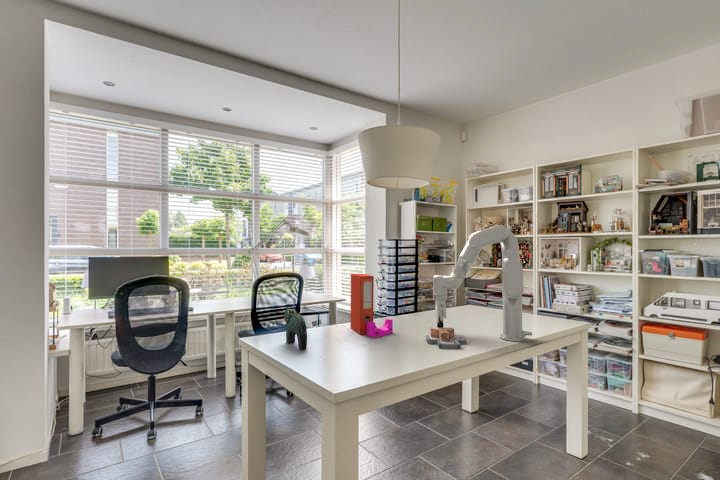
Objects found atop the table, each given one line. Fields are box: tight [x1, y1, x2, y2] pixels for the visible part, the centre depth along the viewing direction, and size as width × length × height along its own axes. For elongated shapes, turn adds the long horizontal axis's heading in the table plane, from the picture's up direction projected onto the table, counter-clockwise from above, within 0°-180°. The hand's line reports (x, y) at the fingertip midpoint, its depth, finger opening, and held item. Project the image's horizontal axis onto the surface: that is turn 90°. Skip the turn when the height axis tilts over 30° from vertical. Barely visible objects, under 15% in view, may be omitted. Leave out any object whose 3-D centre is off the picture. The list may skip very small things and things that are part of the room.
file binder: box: [350, 273, 375, 336], centre depth 212 cm, size 8×17×32 cm, turn 19°
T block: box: [429, 327, 455, 342], centre depth 196 cm, size 12×12×4 cm
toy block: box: [366, 318, 394, 338], centre depth 204 cm, size 15×6×8 cm, turn 125°
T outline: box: [425, 334, 467, 350], centre depth 184 cm, size 19×16×2 cm
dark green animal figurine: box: [283, 304, 308, 351], centre depth 182 cm, size 20×6×20 cm, turn 33°
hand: (440, 330), depth 207 cm, fingers closed
